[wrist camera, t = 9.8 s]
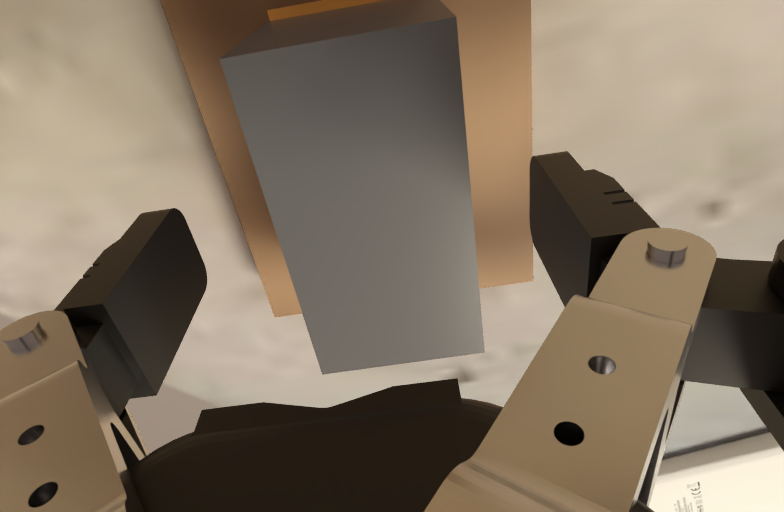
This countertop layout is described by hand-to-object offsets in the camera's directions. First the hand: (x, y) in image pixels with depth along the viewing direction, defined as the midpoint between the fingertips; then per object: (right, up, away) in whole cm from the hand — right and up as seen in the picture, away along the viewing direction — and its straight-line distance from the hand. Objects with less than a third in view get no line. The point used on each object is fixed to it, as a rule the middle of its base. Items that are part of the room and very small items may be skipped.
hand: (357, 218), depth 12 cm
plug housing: (0, +2, +4) cm, 5 cm away
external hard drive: (+21, -14, +19) cm, 31 cm away
